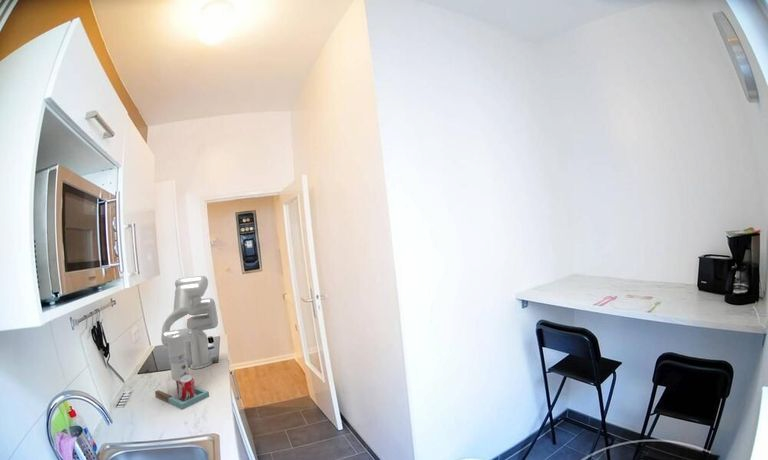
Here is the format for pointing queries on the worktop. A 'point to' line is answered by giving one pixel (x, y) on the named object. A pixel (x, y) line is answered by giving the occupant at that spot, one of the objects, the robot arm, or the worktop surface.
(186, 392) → the soda can
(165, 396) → the channel
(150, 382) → the worktop surface
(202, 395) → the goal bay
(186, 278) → the robot arm
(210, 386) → the worktop surface
